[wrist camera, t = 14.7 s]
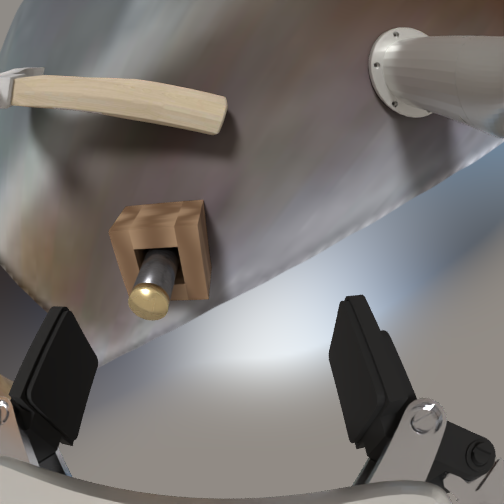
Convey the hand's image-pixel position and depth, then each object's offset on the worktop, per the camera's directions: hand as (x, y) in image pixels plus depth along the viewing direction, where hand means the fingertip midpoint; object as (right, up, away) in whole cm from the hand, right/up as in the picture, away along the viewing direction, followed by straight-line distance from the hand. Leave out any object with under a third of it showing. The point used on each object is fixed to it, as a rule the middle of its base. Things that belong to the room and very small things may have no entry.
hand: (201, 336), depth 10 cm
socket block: (-10, +5, +33) cm, 34 cm away
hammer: (-16, +23, +21) cm, 35 cm away
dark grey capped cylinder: (-10, +5, +33) cm, 34 cm away
